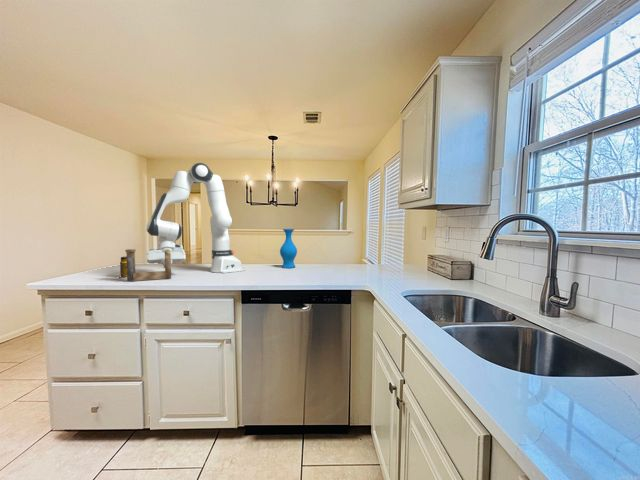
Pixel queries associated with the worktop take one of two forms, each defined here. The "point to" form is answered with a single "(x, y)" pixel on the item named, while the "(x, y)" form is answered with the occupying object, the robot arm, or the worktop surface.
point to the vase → (288, 250)
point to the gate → (150, 275)
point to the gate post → (132, 254)
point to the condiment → (123, 267)
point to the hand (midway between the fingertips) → (167, 267)
